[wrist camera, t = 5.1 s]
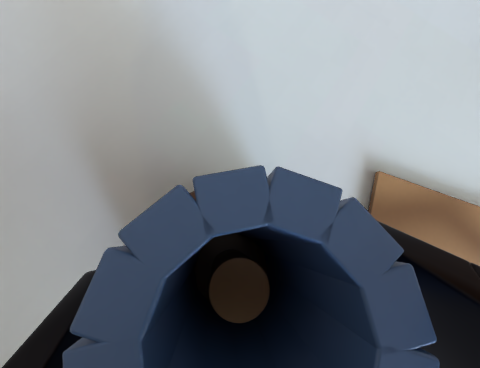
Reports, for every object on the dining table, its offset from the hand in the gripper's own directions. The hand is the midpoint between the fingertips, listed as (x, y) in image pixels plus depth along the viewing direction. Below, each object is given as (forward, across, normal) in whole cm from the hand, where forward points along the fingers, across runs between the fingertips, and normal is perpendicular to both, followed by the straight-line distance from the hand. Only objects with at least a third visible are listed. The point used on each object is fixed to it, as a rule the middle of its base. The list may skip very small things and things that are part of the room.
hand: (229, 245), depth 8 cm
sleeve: (+2, 0, +4) cm, 4 cm away
